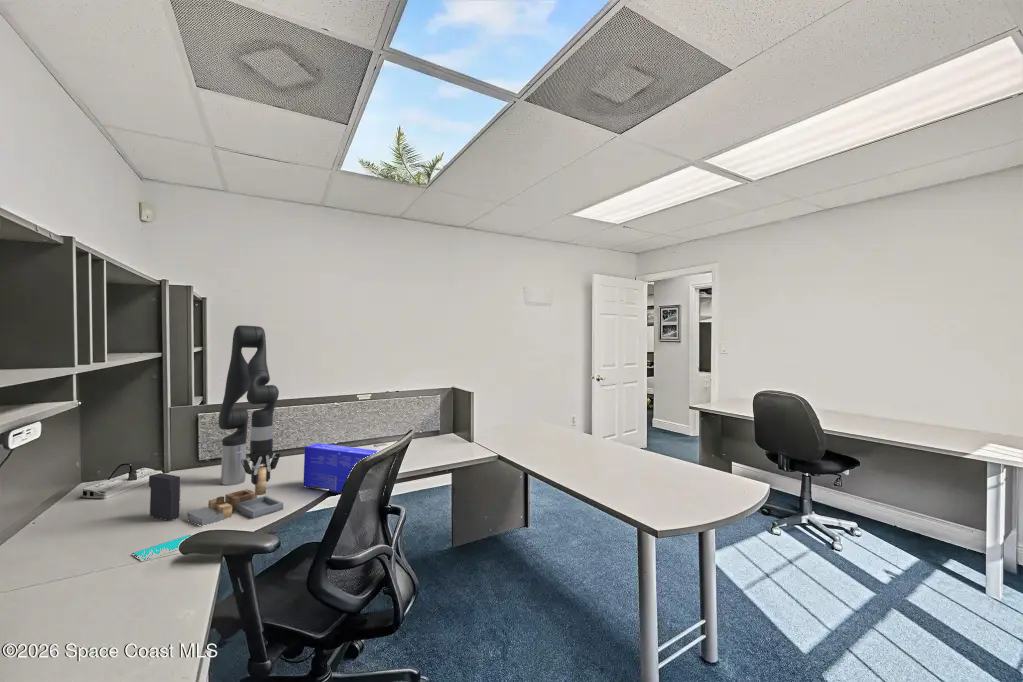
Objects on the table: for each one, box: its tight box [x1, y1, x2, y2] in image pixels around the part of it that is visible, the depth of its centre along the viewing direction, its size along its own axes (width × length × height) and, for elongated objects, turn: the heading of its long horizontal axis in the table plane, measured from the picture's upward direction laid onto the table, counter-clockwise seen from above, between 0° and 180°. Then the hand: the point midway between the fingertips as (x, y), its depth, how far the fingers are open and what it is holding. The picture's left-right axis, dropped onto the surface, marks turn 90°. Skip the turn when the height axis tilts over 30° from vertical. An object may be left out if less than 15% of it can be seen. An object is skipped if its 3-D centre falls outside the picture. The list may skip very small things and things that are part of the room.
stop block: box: [207, 496, 233, 520], centre depth 158 cm, size 12×3×6 cm, turn 56°
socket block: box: [224, 488, 258, 510], centre depth 168 cm, size 8×8×4 cm
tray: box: [235, 495, 284, 520], centre depth 163 cm, size 13×11×2 cm
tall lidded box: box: [148, 472, 181, 521], centre depth 154 cm, size 11×4×15 cm, turn 71°
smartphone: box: [131, 534, 192, 560], centre depth 132 cm, size 7×1×15 cm
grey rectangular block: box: [186, 506, 225, 527], centre depth 153 cm, size 10×7×3 cm
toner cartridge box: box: [302, 442, 379, 494], centre depth 186 cm, size 39×8×18 cm, turn 69°
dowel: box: [254, 465, 267, 496], centre depth 163 cm, size 4×4×10 cm
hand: (260, 482), depth 163 cm, fingers closed on dowel, 3 cm apart
